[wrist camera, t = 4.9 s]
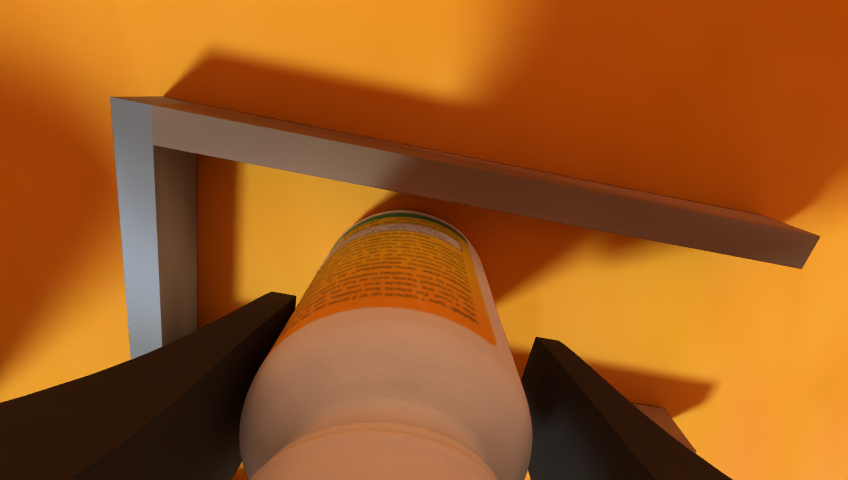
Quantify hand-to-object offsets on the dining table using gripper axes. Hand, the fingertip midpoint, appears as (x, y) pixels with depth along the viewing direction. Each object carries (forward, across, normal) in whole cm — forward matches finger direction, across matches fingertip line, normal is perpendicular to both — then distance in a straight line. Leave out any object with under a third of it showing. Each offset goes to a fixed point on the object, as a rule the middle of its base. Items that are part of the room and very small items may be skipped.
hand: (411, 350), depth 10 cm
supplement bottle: (+4, 0, 0) cm, 4 cm away
